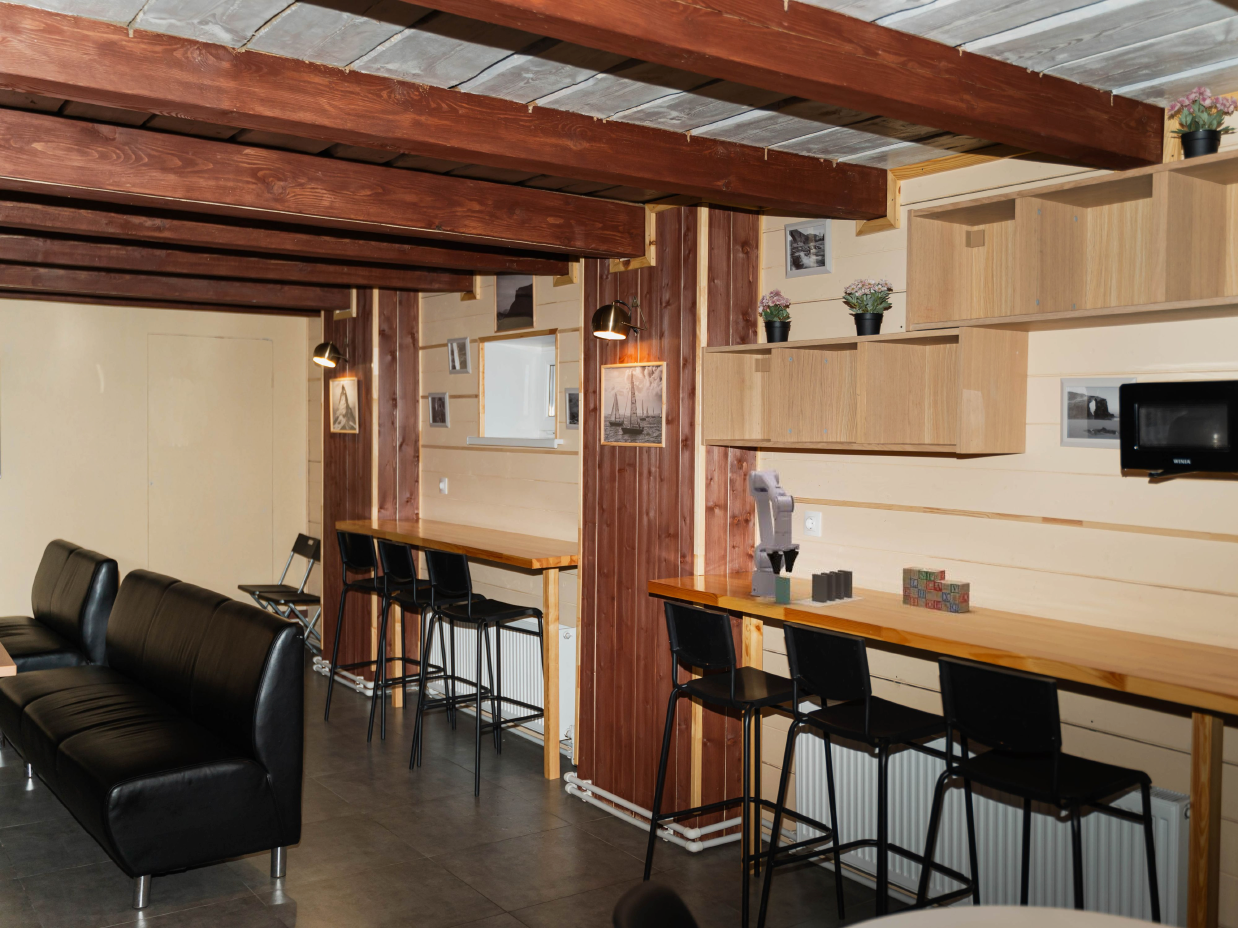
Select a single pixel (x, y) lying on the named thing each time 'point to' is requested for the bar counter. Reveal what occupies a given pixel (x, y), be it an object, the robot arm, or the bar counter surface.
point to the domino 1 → (782, 590)
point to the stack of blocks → (934, 590)
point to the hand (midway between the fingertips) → (782, 573)
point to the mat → (819, 604)
